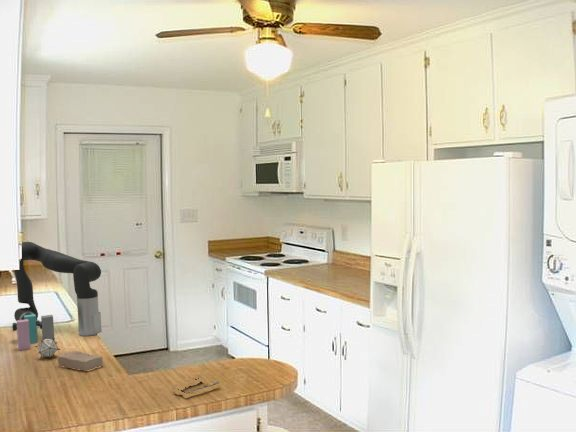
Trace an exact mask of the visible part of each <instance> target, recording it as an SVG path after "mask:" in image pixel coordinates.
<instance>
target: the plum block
mask: <svg viewBox="0 0 576 432" xmlns="http://www.w3.org/2000/svg"><path fill="white" fill-rule="evenodd" d="M16 323H17V330H16V332H17V333H16V334H17V347H18V351H24V350H30V349H31V344H30V335H29V321H28V319H25V320H17V321H16Z"/></svg>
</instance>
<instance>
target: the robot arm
mask: <svg viewBox="0 0 576 432" xmlns="http://www.w3.org/2000/svg"><path fill="white" fill-rule="evenodd" d="M21 242H22V259H21V261H20V270H15V271H14V270H13V271H14V275H15V280H16V290H17V302H18V303H19V304H24V305H25V304H26V305H28V306H29V307H21V308H19V307H18V309H16V310H15V312H14V319H15V322H13V323H12V332H15V331H16V332H17V320H24V315H31V314H35V315H36V327H37V329H41V330H42V322H41V320H39V319H38V318H39V312H38V309H37V306H36V303H35V299H34V285H33V283H32V280H31V279H30V277H29V276H28V274H27V271H26V270H25V265H24V262H25V261H35V262H36V261H37V262H40V263H41V264H42V266H43V267H44V268H45V269H46V270H50V271H53V272H56V273H61V274H72V275H73V276H72V277H73V278H72V279H73V285H74V286H73V287H74V292H75V295H76V302H77V303H76V305H77V320H78V321H77V322H78V326H77V327H78V335H79V336H83V337H87V336H88V337H89V336H96V335H98V334H100V333H103V332H102V330H103V329H102V315H101V314H102V313H101V311H100V310H99V296H98V295H99V292H98V290H97V289H94V288H92V287H91V286H90V285H91V284H90V283H91V282H95V281H97V280H98V279H99V278H100V277H101V276H102V270H101V267H100V266H99V264H98V263H95V262H94V261H88V260H83V259H80V258H76V257H73V256H70V255H68V254H64V253H63V252H60V251H56V250H52V249H49V248H45V247H42V246H40V245H38V243H35V242H31V241H21Z"/></svg>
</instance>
